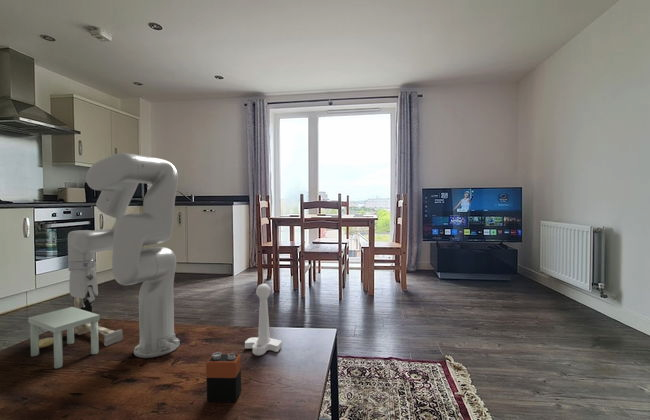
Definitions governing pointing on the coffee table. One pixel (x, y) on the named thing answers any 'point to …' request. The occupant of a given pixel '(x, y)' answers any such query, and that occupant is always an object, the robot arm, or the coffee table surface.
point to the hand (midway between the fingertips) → (83, 315)
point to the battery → (223, 377)
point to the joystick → (263, 326)
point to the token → (46, 342)
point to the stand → (59, 323)
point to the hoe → (109, 334)
